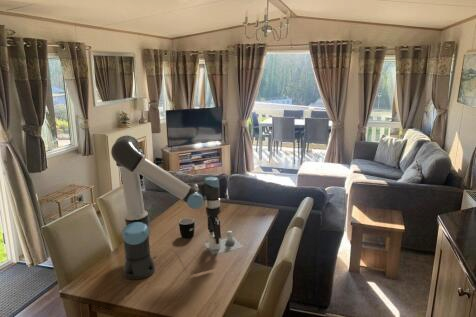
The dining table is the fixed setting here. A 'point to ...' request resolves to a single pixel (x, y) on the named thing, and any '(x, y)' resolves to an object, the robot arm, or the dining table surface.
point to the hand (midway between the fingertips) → (214, 246)
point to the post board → (224, 247)
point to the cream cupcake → (212, 241)
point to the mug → (187, 227)
